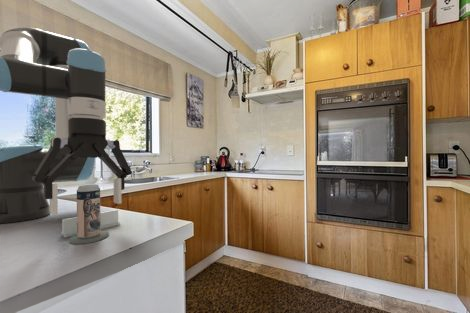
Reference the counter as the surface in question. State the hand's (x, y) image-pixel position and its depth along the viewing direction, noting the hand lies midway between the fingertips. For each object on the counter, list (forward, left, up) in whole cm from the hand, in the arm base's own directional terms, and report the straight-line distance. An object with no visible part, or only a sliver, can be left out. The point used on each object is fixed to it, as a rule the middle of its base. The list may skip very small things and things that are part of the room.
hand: (88, 207), depth 56 cm
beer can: (0, 0, -7) cm, 7 cm away
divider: (-6, +3, -7) cm, 10 cm away
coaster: (0, 0, -7) cm, 7 cm away
